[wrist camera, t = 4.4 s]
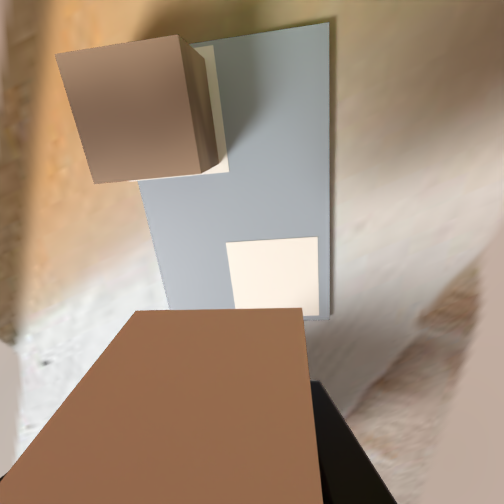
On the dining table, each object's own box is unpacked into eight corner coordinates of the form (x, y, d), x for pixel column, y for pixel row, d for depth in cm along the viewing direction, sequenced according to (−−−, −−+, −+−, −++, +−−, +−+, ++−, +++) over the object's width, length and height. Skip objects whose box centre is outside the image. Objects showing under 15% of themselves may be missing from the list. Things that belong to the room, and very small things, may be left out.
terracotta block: (304, 427, 9) (323, 672, 5) (168, 423, 10) (85, 641, 6) (302, 307, 7) (325, 534, 3) (135, 310, 8) (-21, 508, 4)
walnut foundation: (219, 163, 16) (200, 173, 13) (135, 172, 17) (94, 184, 13) (204, 58, 14) (177, 34, 11) (110, 72, 15) (54, 54, 11)
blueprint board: (328, 316, 20) (329, 320, 20) (168, 321, 21) (166, 324, 21) (327, 25, 14) (329, 21, 13) (101, 59, 15) (97, 58, 15)
